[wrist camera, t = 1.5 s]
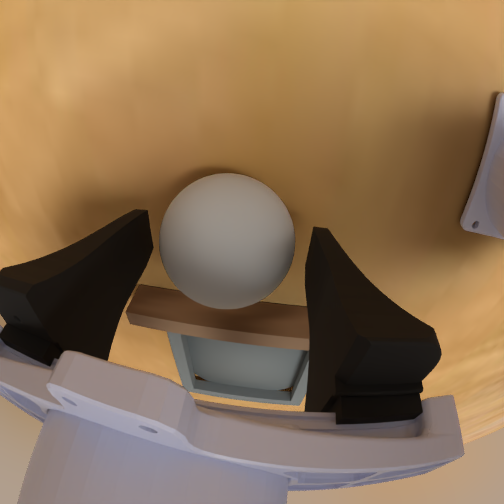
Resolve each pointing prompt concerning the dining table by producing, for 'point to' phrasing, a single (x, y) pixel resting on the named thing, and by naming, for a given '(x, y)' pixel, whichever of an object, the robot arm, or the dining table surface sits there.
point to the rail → (220, 319)
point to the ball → (227, 241)
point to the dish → (241, 369)
